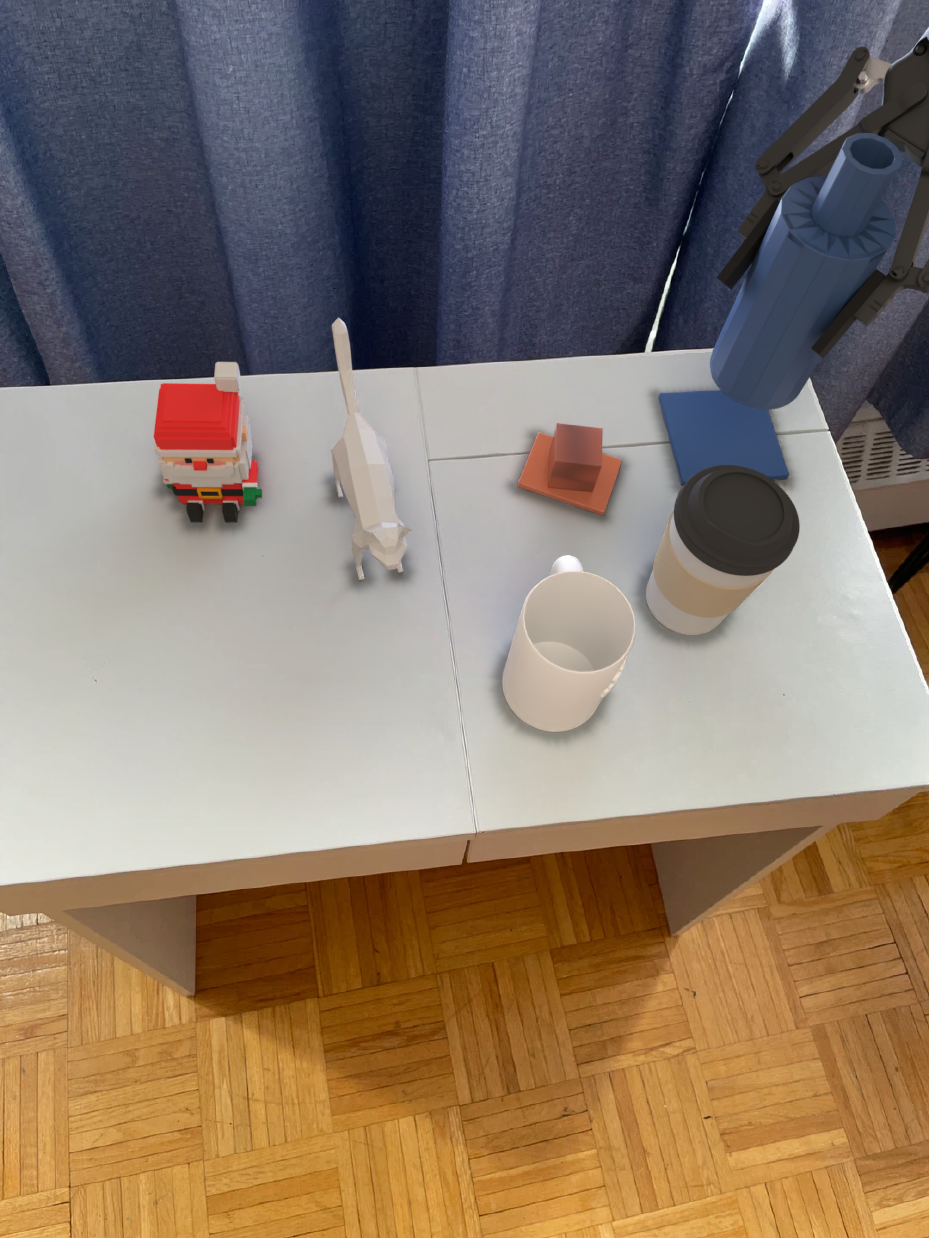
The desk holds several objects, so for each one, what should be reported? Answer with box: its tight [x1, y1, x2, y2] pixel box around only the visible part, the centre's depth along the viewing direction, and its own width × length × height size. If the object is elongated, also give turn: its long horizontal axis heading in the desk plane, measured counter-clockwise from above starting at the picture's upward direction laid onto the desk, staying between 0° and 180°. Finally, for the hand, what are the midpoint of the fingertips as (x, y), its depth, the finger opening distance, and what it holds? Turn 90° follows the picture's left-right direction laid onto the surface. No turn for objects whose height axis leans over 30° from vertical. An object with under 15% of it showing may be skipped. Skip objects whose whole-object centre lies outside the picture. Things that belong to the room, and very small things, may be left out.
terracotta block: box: [548, 422, 604, 492], centre depth 81 cm, size 4×4×4 cm
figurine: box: [153, 361, 263, 523], centre depth 75 cm, size 8×7×12 cm
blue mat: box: [658, 389, 790, 486], centre depth 87 cm, size 10×10×1 cm
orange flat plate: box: [517, 431, 623, 516], centre depth 83 cm, size 8×6×1 cm
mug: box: [501, 554, 637, 733], centre depth 70 cm, size 8×12×12 cm
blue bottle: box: [709, 133, 903, 411], centre depth 69 cm, size 8×8×21 cm
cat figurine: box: [330, 317, 413, 581], centre depth 74 cm, size 4×20×14 cm, turn 14°
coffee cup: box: [645, 465, 801, 636], centre depth 72 cm, size 9×9×15 cm
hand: (770, 318), depth 70 cm, fingers closed on blue bottle, 8 cm apart
